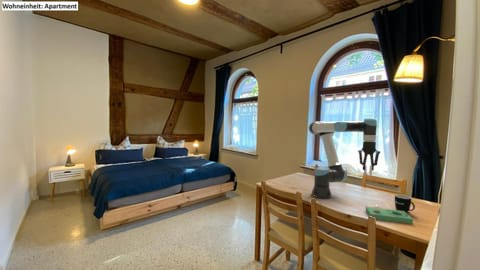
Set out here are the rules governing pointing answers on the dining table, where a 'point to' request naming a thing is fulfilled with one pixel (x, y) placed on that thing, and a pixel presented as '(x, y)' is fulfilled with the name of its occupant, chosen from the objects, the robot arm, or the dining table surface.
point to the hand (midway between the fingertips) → (367, 174)
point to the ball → (377, 208)
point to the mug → (403, 203)
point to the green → (390, 215)
